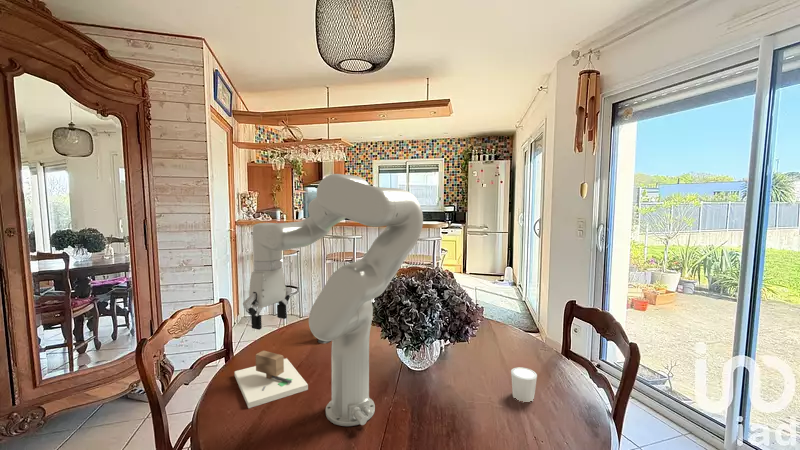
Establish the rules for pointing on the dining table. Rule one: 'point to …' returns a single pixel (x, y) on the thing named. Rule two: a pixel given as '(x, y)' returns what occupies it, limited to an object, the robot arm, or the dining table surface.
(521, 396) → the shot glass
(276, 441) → the dining table surface
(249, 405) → the board
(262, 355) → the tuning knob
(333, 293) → the robot arm
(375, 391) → the dining table surface
